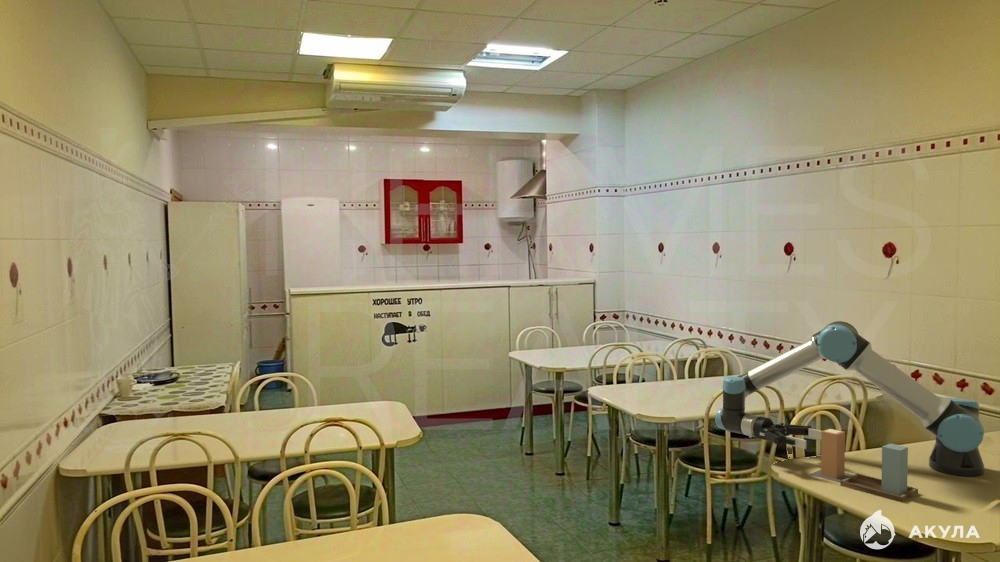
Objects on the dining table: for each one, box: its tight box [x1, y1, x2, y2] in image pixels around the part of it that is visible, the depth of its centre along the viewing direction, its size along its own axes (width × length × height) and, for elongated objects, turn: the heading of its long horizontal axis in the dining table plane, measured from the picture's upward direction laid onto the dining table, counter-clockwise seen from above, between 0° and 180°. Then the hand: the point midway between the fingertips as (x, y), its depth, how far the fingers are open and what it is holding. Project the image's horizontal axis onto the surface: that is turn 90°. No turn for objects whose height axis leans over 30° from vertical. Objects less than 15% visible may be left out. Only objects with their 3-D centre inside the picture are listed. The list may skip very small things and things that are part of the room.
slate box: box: [881, 443, 909, 496], centre depth 206 cm, size 5×5×14 cm
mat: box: [809, 469, 854, 484], centre depth 223 cm, size 10×10×1 cm
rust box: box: [820, 428, 846, 479], centre depth 223 cm, size 5×5×14 cm
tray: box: [839, 473, 919, 503], centre depth 210 cm, size 11×18×2 cm, turn 37°
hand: (817, 440), depth 226 cm, fingers open, 13 cm apart
